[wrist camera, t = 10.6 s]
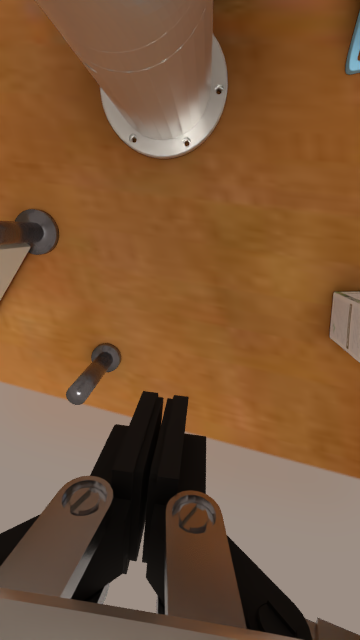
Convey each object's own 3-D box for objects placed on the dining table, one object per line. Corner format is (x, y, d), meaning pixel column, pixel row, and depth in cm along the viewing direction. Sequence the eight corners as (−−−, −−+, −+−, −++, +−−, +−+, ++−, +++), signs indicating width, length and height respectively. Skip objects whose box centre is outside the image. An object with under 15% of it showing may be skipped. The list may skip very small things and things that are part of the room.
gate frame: (-61, 261, 39) (-172, 274, 28) (44, 201, 36) (-33, 188, 25) (31, 403, 44) (-33, 465, 32) (130, 361, 41) (100, 413, 29)
